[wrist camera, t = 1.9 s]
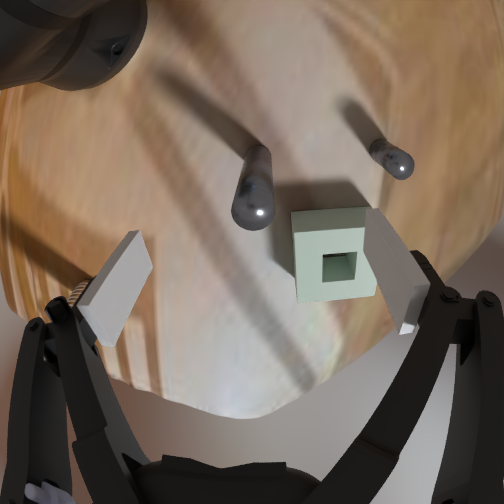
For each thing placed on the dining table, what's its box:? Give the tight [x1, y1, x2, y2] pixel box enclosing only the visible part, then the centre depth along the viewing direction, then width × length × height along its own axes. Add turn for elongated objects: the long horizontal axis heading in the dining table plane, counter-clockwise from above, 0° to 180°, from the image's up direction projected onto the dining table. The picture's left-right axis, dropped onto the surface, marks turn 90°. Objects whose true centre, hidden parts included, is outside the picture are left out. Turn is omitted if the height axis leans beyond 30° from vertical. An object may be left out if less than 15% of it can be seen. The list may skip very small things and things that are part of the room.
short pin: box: [370, 139, 414, 180], centre depth 26 cm, size 3×3×6 cm
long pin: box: [231, 145, 275, 231], centre depth 24 cm, size 3×3×14 cm
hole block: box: [291, 206, 377, 303], centre depth 34 cm, size 10×10×5 cm
